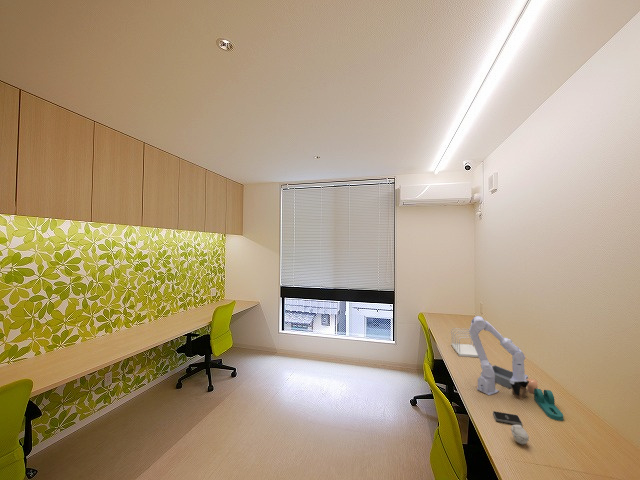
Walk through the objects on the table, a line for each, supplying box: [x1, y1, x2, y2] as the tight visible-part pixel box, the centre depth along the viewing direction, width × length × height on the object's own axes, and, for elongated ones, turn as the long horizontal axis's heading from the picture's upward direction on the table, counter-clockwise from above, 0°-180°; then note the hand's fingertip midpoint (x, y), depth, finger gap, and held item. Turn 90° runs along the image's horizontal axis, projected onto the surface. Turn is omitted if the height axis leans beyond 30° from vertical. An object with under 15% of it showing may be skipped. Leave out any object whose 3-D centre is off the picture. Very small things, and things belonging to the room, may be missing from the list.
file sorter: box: [450, 327, 482, 358], centre depth 223 cm, size 25×17×16 cm
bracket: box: [533, 388, 564, 422], centre depth 141 cm, size 18×7×8 cm, turn 161°
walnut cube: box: [511, 386, 528, 400], centre depth 155 cm, size 5×5×5 cm
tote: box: [492, 364, 519, 390], centre depth 173 cm, size 14×18×5 cm
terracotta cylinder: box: [526, 377, 539, 395], centre depth 158 cm, size 5×5×7 cm
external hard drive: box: [492, 410, 523, 427], centre depth 134 cm, size 7×11×2 cm, turn 69°
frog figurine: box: [510, 425, 529, 445], centre depth 118 cm, size 6×7×7 cm
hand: (519, 393), depth 155 cm, fingers closed on walnut cube, 5 cm apart
